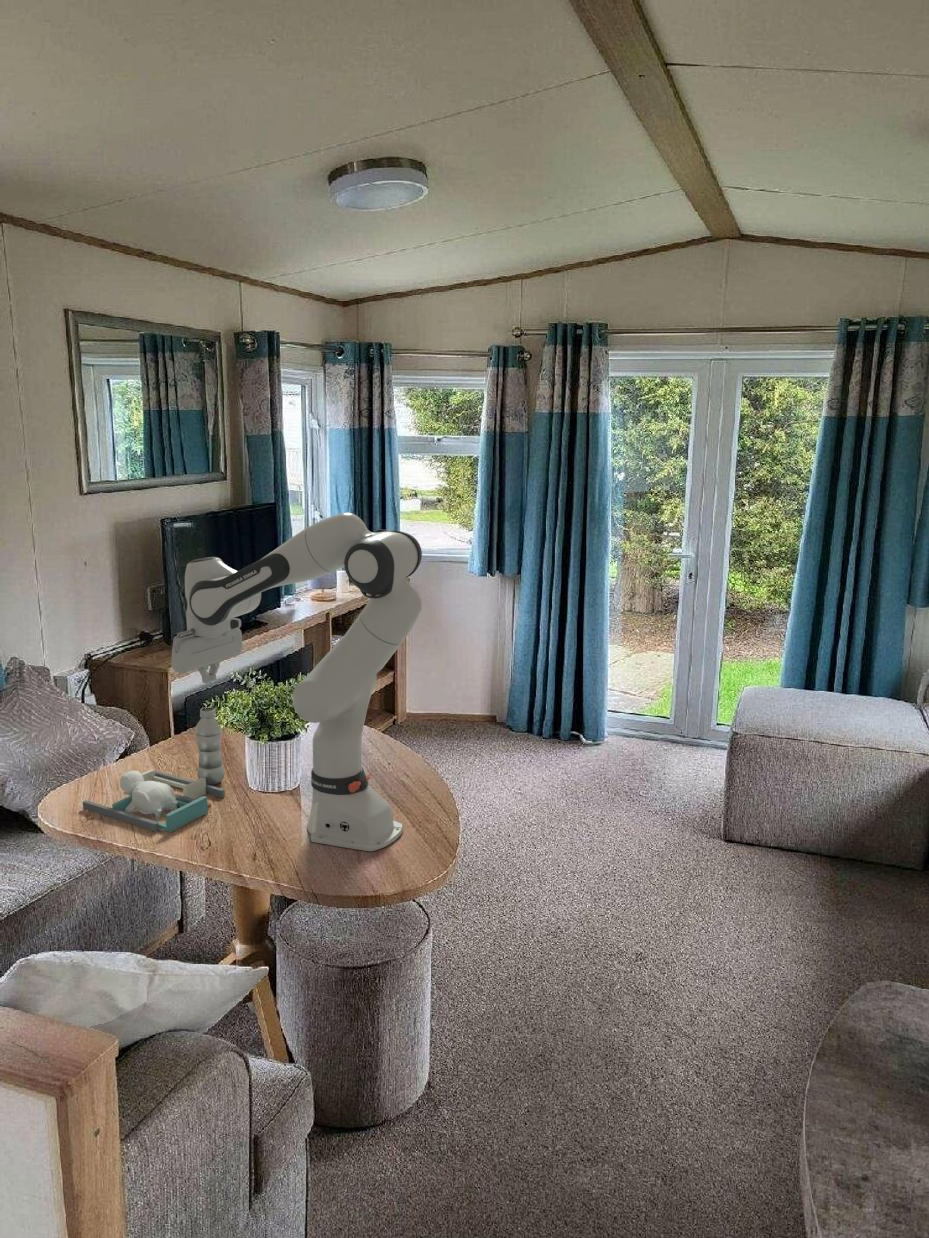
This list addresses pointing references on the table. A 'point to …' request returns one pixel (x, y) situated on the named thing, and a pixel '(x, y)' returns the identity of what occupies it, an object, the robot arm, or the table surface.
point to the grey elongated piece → (180, 784)
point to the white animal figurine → (147, 794)
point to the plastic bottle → (209, 747)
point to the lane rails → (142, 821)
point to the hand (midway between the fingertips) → (209, 681)
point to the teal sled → (174, 812)
